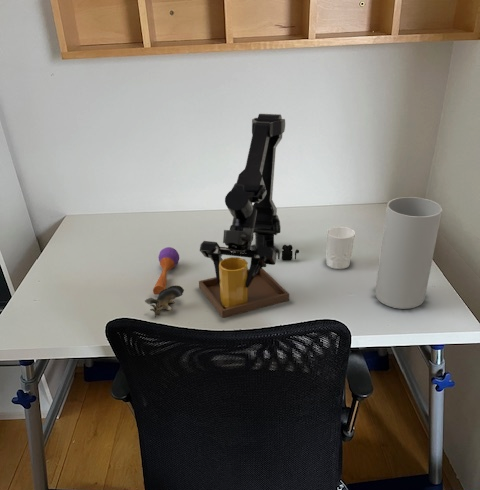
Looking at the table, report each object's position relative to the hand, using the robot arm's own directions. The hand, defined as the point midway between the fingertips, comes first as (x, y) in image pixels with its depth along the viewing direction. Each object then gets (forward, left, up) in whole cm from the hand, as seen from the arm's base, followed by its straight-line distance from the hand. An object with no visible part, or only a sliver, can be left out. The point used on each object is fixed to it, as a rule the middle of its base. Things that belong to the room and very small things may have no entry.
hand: (232, 285), depth 133 cm
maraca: (-23, -11, -7) cm, 26 cm away
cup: (-1, +1, -6) cm, 6 cm away
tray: (-5, +5, -7) cm, 10 cm away
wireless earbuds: (-18, +25, -7) cm, 32 cm away
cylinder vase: (+14, +41, -7) cm, 44 cm away
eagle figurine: (-7, -16, -7) cm, 19 cm away
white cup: (-9, +37, -7) cm, 39 cm away
